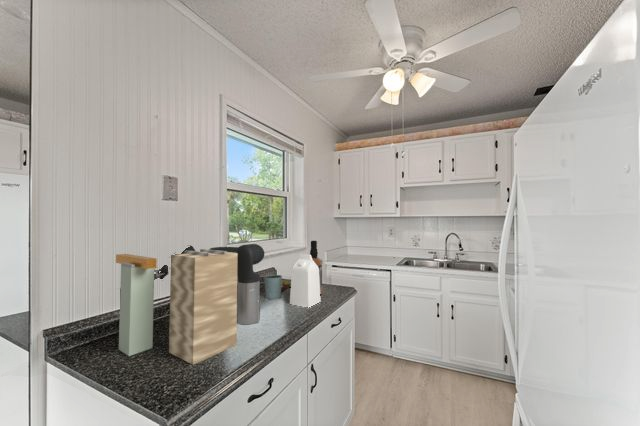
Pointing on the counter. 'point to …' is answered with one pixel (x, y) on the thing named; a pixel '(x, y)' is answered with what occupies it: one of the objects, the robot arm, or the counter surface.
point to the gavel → (285, 285)
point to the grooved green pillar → (136, 309)
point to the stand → (202, 304)
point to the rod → (137, 260)
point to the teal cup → (273, 286)
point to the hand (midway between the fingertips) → (155, 268)
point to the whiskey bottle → (317, 261)
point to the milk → (305, 282)
